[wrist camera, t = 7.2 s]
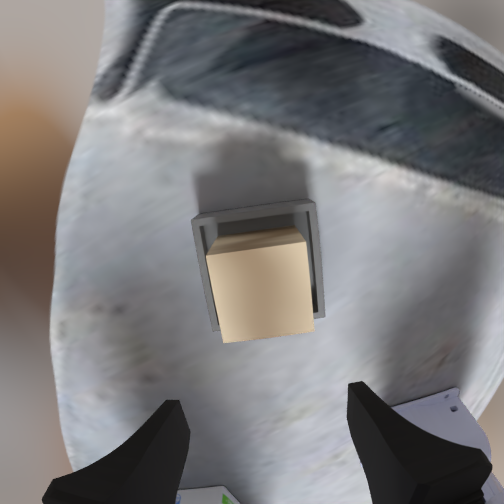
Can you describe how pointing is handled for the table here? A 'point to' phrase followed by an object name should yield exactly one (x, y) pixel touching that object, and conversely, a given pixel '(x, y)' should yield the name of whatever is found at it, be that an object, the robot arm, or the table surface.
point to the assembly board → (259, 219)
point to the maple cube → (261, 284)
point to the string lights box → (205, 496)
